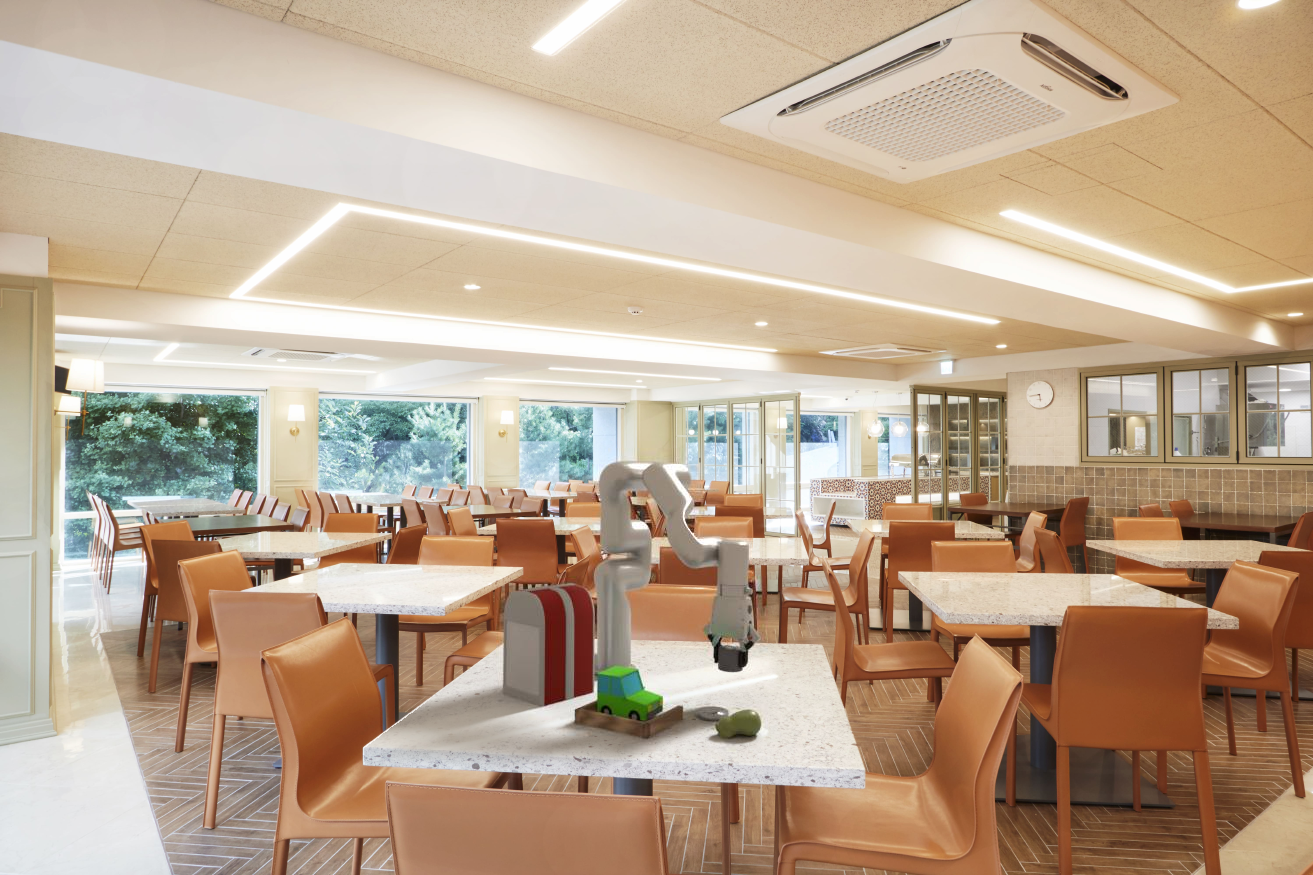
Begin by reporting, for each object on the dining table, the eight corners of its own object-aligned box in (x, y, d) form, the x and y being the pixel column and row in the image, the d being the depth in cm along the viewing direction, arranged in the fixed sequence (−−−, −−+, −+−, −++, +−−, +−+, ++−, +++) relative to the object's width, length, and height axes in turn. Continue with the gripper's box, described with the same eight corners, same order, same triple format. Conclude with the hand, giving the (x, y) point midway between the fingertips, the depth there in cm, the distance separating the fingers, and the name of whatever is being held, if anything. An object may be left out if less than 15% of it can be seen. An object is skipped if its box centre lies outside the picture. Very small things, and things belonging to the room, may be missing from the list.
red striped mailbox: (596, 692, 197) (596, 586, 198) (541, 707, 184) (542, 593, 186) (554, 680, 208) (555, 579, 210) (500, 693, 196) (502, 586, 197)
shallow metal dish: (689, 717, 177) (689, 712, 177) (705, 708, 183) (705, 704, 183) (719, 722, 173) (719, 718, 173) (734, 713, 179) (734, 709, 179)
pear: (762, 711, 163) (716, 721, 162) (766, 736, 163) (721, 746, 162) (754, 703, 169) (710, 713, 167) (758, 727, 169) (714, 737, 167)
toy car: (644, 727, 170) (644, 682, 170) (594, 718, 176) (594, 674, 177) (666, 715, 179) (666, 671, 179) (618, 706, 185) (618, 664, 186)
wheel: (713, 669, 188) (714, 646, 188) (724, 663, 193) (725, 641, 193) (735, 673, 184) (736, 650, 184) (746, 668, 189) (747, 645, 189)
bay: (574, 722, 173) (574, 709, 173) (613, 705, 186) (613, 692, 186) (647, 738, 162) (647, 724, 163) (683, 719, 175) (683, 706, 175)
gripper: (771, 592, 187) (769, 667, 187) (708, 584, 197) (706, 655, 196) (758, 597, 181) (756, 674, 181) (694, 588, 190) (692, 661, 190)
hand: (730, 663), depth 188 cm, fingers closed on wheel, 6 cm apart
